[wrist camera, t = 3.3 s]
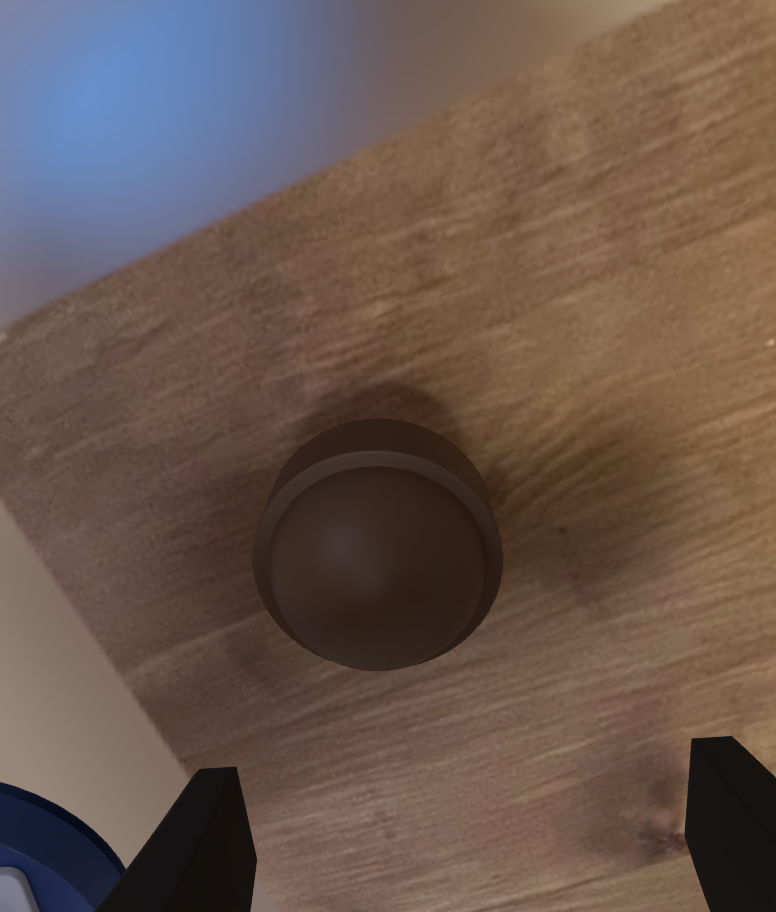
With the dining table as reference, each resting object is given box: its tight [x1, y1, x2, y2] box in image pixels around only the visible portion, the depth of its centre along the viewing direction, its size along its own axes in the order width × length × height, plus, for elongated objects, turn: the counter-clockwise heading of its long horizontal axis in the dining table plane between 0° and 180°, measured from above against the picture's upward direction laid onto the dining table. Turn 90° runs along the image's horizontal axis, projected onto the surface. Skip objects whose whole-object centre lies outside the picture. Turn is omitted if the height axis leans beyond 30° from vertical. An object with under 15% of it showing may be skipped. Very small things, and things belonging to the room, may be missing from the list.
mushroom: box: [252, 419, 503, 671], centre depth 16 cm, size 5×5×7 cm
